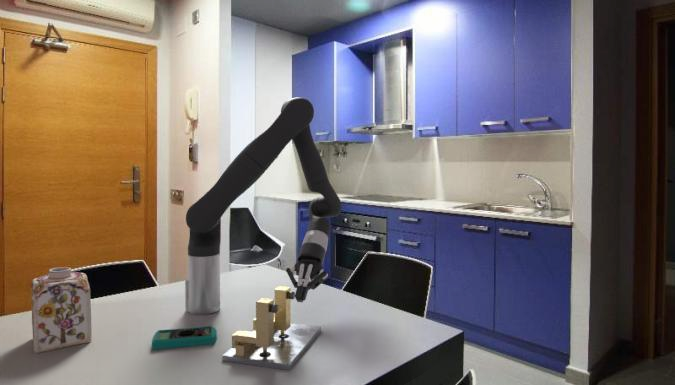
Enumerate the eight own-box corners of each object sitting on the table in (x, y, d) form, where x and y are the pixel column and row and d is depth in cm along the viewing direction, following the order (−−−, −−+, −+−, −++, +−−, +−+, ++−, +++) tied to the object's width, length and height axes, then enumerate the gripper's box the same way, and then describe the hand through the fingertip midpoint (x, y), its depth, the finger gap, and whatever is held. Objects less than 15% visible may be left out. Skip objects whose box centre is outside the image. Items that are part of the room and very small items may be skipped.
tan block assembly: (229, 355, 95) (229, 300, 94) (270, 321, 116) (270, 277, 115) (272, 361, 92) (272, 305, 92) (305, 325, 113) (306, 279, 113)
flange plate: (222, 360, 95) (222, 355, 95) (265, 324, 117) (265, 320, 117) (289, 370, 91) (289, 364, 91) (321, 331, 113) (321, 326, 113)
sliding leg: (253, 334, 106) (252, 287, 105) (258, 330, 109) (258, 284, 108) (291, 339, 103) (291, 290, 102) (295, 334, 106) (295, 287, 105)
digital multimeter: (216, 346, 104) (216, 334, 104) (150, 352, 100) (150, 340, 100) (216, 335, 111) (216, 324, 111) (155, 340, 107) (155, 329, 107)
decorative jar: (32, 338, 107) (30, 267, 106) (85, 328, 114) (84, 261, 113) (34, 354, 97) (31, 277, 96) (92, 342, 104) (90, 270, 103)
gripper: (289, 240, 127) (273, 292, 115) (332, 242, 123) (319, 296, 112) (296, 254, 132) (280, 305, 121) (337, 257, 128) (325, 309, 117)
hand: (299, 300), depth 116 cm, fingers closed
